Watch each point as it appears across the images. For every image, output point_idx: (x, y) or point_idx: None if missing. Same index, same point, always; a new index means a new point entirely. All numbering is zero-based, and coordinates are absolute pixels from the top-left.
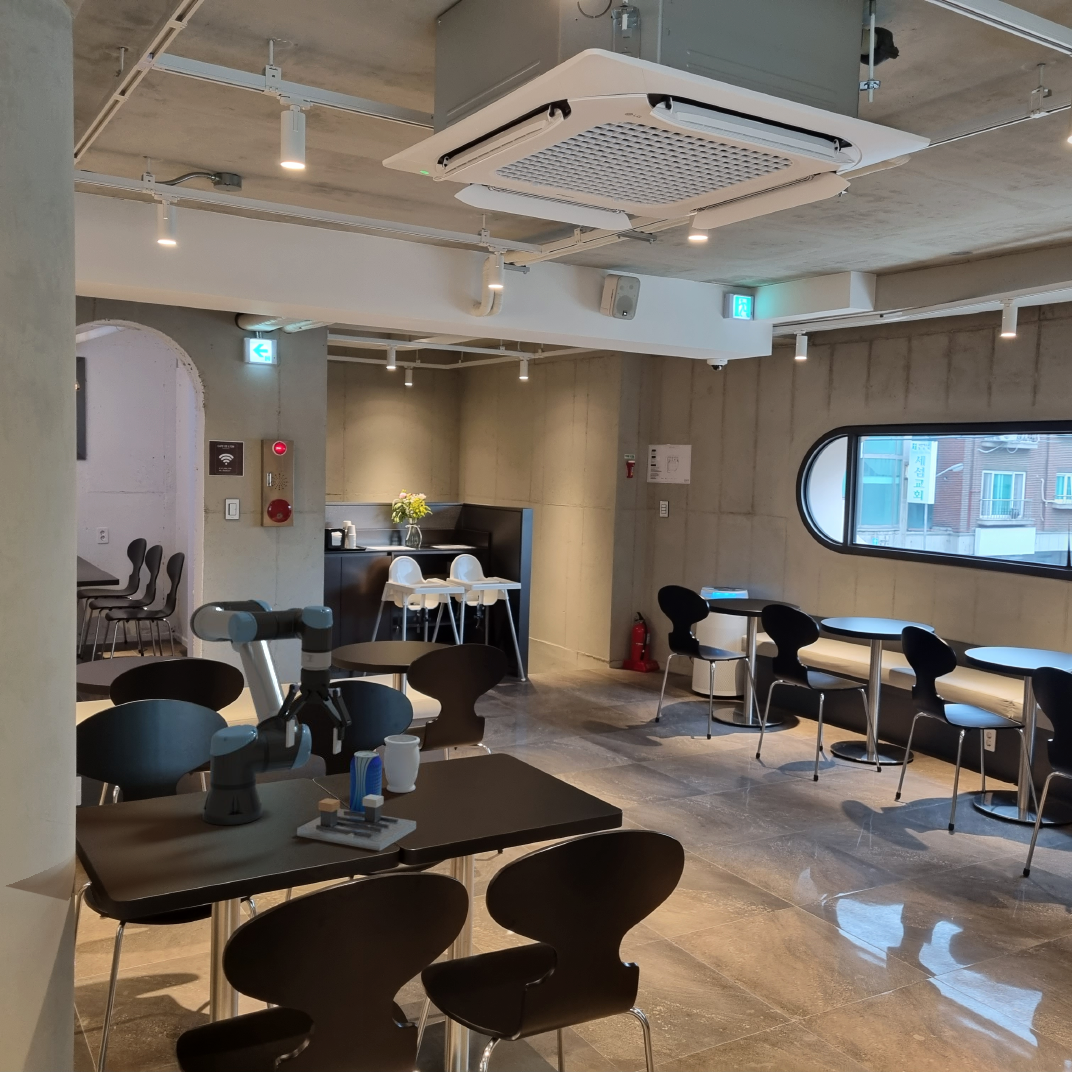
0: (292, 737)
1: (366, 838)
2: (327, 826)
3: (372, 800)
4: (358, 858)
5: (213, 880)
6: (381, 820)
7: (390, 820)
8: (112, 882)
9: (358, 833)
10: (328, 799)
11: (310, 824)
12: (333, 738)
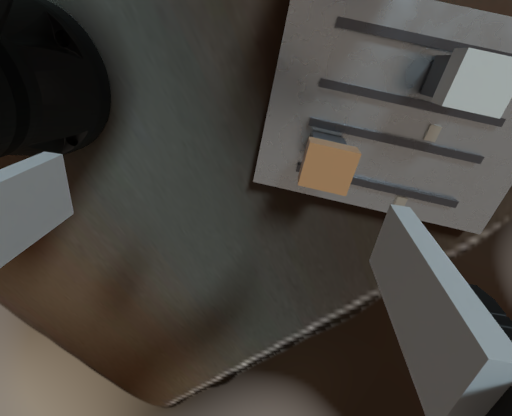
0: (25, 198)
1: (441, 215)
2: None
3: (481, 114)
4: None
5: (222, 361)
6: None
7: None
8: (111, 373)
9: (418, 199)
10: (320, 154)
11: (273, 151)
12: (398, 338)
